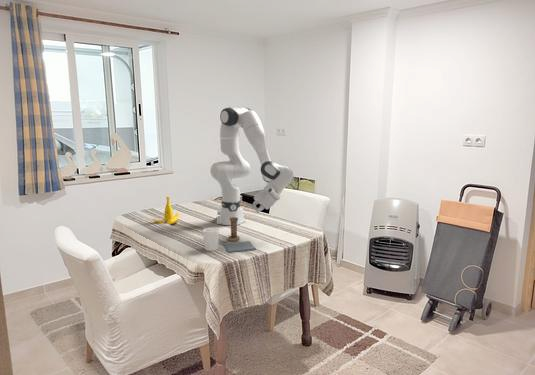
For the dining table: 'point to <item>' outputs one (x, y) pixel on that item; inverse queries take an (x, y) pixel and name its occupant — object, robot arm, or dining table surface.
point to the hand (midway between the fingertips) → (254, 210)
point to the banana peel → (168, 214)
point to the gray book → (239, 246)
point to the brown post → (233, 230)
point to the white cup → (211, 238)
